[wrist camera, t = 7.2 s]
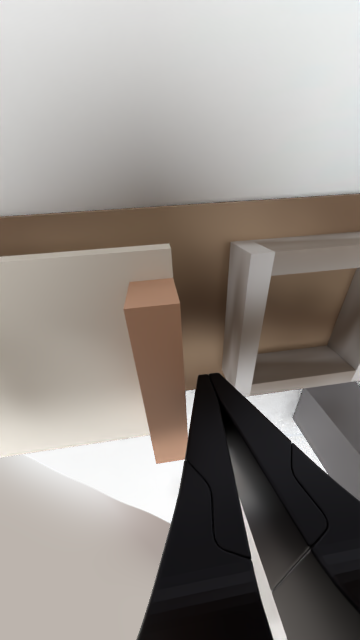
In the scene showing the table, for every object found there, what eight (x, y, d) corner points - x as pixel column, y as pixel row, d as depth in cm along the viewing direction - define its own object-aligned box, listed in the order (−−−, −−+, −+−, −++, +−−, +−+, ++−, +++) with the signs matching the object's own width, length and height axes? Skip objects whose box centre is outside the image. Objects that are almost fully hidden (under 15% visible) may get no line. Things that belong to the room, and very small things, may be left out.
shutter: (182, 417, 13) (189, 469, 10) (5, 442, 12) (-31, 505, 10) (169, 243, 8) (178, 266, 5) (-144, 267, 7) (-305, 308, 4)
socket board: (361, 357, 18) (404, 390, 15) (63, 396, 16) (43, 443, 13) (447, 187, 11) (552, 185, 9) (-26, 218, 10) (-105, 229, 7)
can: (188, 471, 24) (217, 677, 14) (243, 464, 25) (309, 654, 15) (186, 496, 27) (209, 677, 17) (235, 489, 28) (284, 659, 18)
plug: (335, 411, 22) (422, 512, 15) (292, 418, 21) (360, 525, 14) (352, 379, 19) (464, 482, 12) (304, 386, 19) (392, 495, 12)
